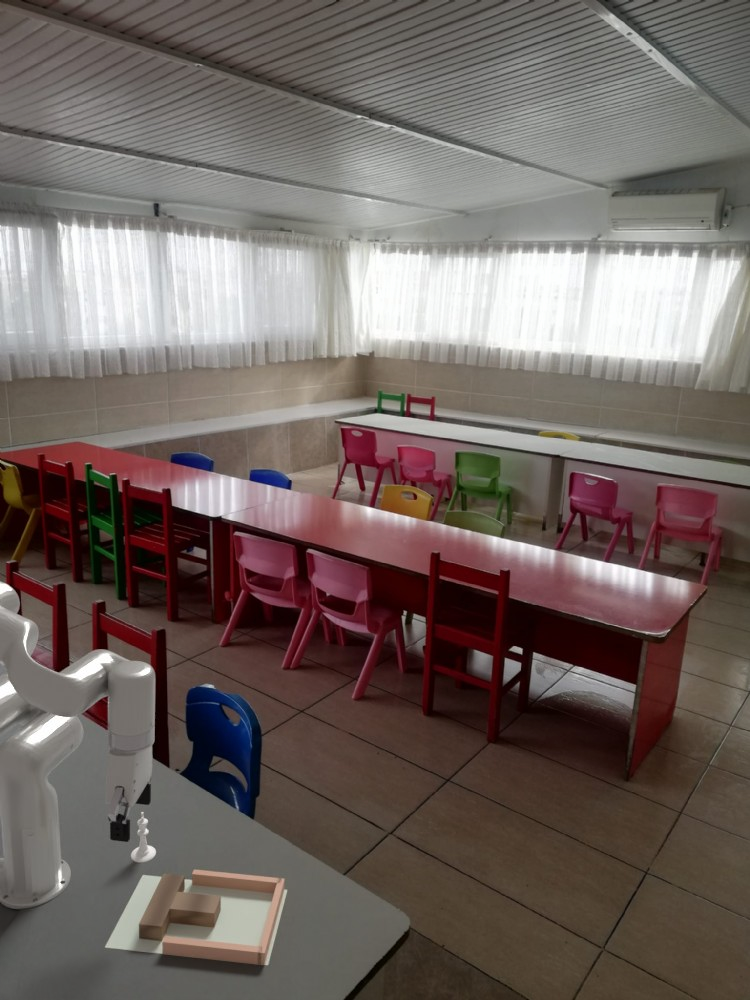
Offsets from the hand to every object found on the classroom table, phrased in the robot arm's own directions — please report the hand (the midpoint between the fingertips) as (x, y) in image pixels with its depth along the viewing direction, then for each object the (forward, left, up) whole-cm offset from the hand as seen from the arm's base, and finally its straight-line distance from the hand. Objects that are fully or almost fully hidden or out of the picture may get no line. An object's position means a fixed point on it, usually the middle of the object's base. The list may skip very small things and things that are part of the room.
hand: (131, 820), depth 130 cm
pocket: (+17, 0, -18) cm, 25 cm away
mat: (+13, 0, -19) cm, 23 cm away
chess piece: (-3, +14, -19) cm, 24 cm away
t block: (+10, 0, -18) cm, 21 cm away
